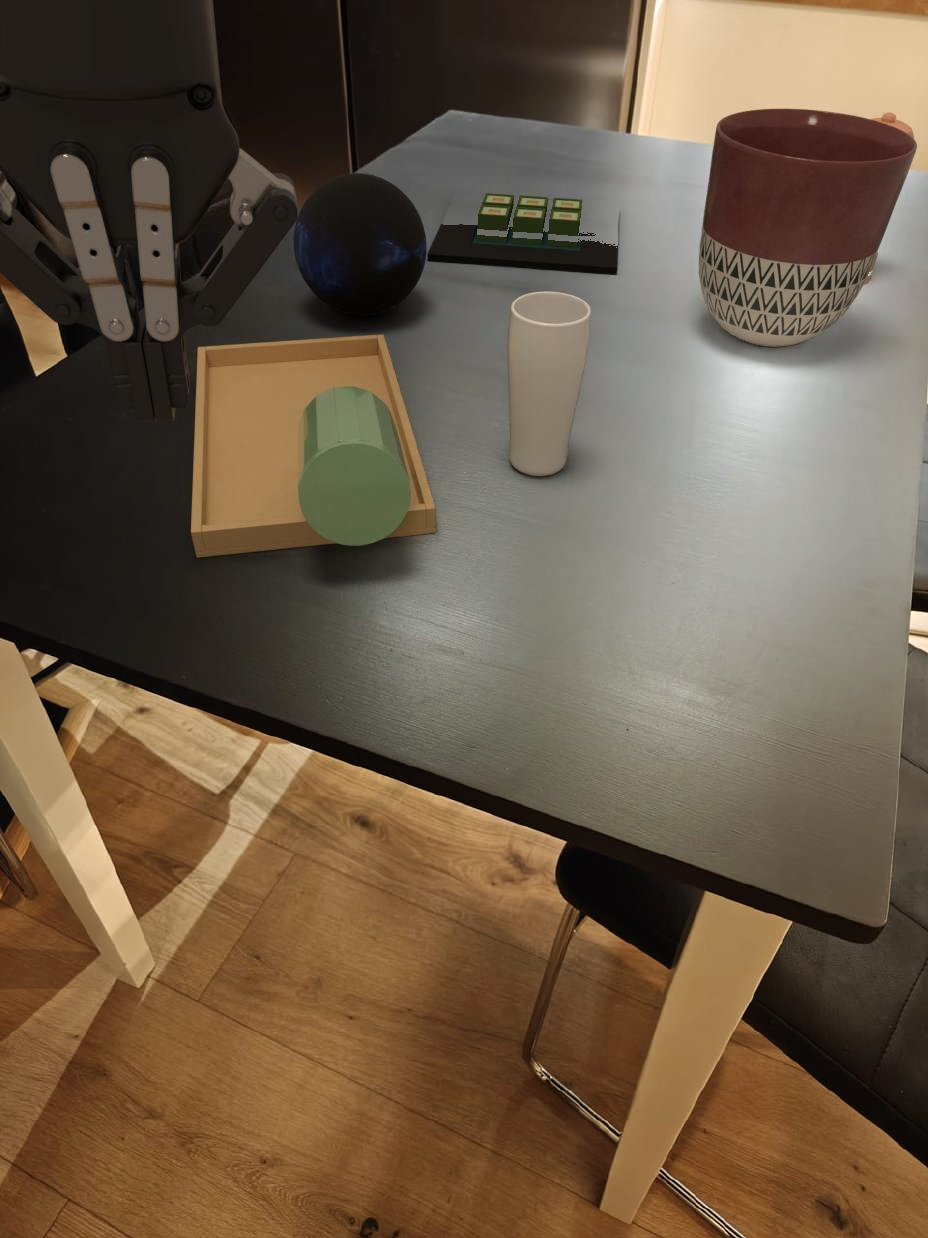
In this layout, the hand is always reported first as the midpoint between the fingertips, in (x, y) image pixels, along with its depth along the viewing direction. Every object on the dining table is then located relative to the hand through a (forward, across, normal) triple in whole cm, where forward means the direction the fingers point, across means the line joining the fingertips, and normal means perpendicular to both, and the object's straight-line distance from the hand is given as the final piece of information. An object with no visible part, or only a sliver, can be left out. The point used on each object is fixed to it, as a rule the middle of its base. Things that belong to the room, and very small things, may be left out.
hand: (158, 411), depth 38 cm
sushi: (+26, +41, +91) cm, 103 cm away
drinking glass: (+25, +28, +33) cm, 50 cm away
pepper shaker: (+23, +78, +72) cm, 109 cm away
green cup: (+18, +10, +19) cm, 28 cm away
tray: (+27, +7, +40) cm, 48 cm away
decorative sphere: (+27, +15, +69) cm, 75 cm away
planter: (+24, +60, +56) cm, 86 cm away
